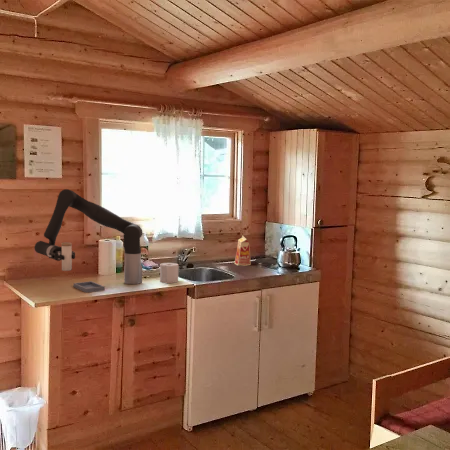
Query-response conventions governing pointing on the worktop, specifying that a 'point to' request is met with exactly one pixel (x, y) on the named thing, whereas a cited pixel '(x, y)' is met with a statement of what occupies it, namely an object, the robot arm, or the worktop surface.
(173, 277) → the toilet tissue
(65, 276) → the worktop surface
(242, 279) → the worktop surface
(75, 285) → the dish
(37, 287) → the worktop surface
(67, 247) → the canister
